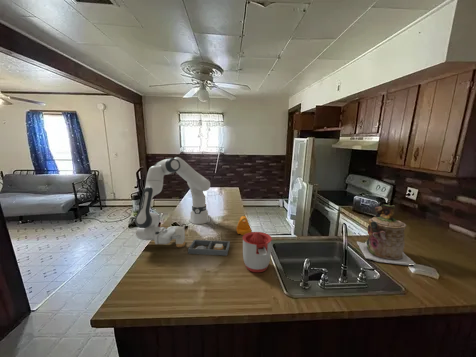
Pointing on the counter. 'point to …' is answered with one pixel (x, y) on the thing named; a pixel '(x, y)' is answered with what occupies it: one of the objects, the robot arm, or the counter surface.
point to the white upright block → (181, 232)
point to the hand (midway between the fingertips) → (181, 234)
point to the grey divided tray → (209, 247)
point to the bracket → (243, 226)
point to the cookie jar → (385, 238)
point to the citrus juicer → (256, 251)
